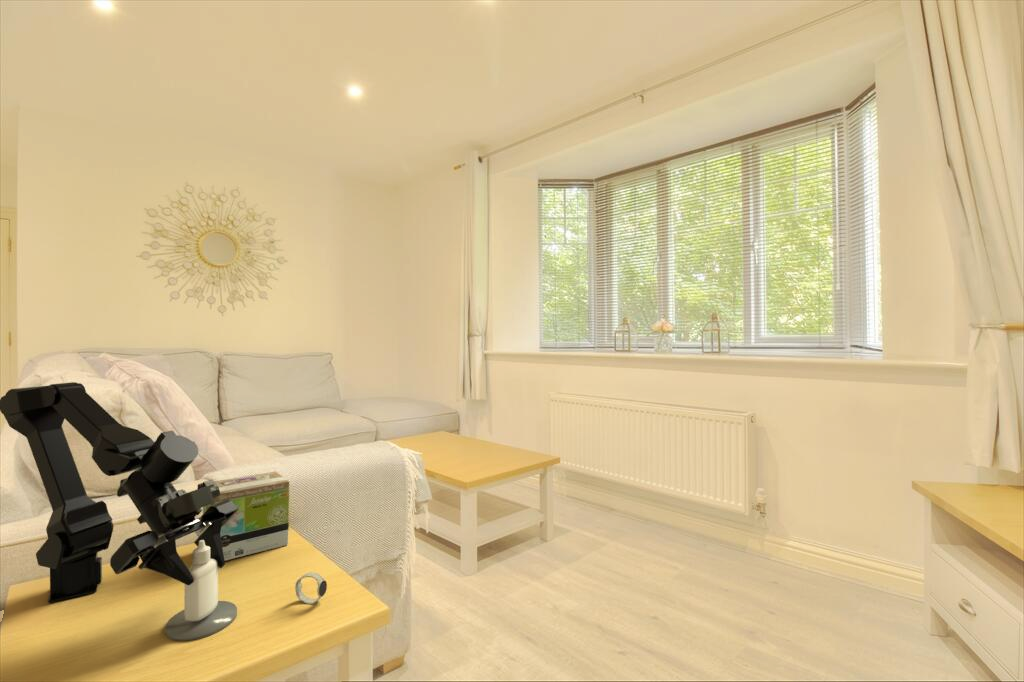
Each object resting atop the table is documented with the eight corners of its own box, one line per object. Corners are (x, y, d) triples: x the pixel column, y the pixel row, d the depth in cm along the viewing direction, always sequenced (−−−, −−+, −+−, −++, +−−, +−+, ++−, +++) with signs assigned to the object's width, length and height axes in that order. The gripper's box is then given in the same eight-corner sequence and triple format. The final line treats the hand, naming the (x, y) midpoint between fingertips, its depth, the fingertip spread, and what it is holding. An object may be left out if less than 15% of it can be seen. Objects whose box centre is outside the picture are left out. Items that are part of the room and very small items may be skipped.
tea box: (212, 567, 99) (211, 494, 98) (201, 550, 106) (201, 482, 106) (290, 545, 109) (290, 479, 108) (275, 531, 116) (275, 469, 116)
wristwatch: (319, 607, 85) (319, 579, 85) (292, 604, 86) (292, 576, 86) (328, 598, 88) (328, 571, 88) (302, 595, 88) (302, 568, 88)
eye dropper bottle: (226, 608, 82) (226, 537, 81) (190, 625, 77) (190, 550, 77) (212, 600, 84) (212, 531, 84) (176, 616, 79) (175, 543, 79)
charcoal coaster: (165, 649, 73) (165, 645, 73) (164, 616, 82) (164, 613, 82) (241, 625, 79) (241, 622, 79) (233, 597, 87) (232, 594, 87)
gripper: (123, 486, 72) (180, 573, 69) (230, 455, 90) (279, 523, 87) (86, 532, 74) (139, 617, 72) (197, 492, 92) (243, 559, 90)
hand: (207, 574), depth 80 cm, fingers closed on eye dropper bottle, 5 cm apart
